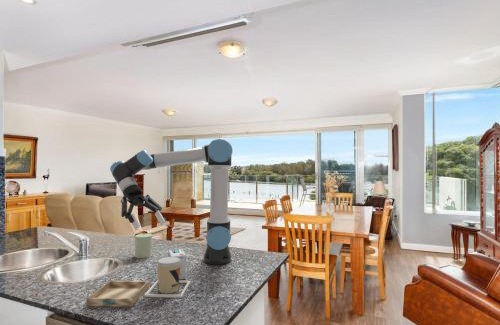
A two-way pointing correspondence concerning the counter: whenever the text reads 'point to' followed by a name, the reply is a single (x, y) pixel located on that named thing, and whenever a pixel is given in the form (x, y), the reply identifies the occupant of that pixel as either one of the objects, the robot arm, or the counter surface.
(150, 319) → the counter surface
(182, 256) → the light bulb box
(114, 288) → the wooden tray
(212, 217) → the robot arm
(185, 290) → the white flat square frame
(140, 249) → the can
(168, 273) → the coffee cup
